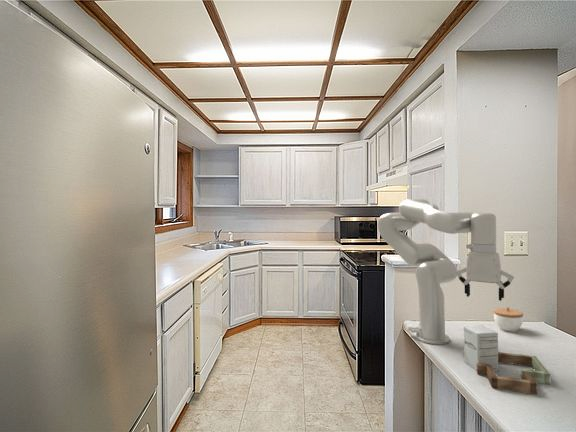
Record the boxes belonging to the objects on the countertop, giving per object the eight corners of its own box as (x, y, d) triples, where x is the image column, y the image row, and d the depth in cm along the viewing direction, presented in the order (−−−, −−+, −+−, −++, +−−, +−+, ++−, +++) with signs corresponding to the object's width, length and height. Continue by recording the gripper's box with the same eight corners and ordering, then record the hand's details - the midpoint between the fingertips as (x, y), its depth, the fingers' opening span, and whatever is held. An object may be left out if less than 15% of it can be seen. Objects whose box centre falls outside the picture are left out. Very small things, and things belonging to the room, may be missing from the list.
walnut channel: (477, 374, 104) (477, 365, 104) (471, 357, 116) (471, 348, 116) (550, 384, 97) (550, 374, 97) (535, 365, 109) (535, 355, 109)
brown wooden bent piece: (491, 387, 96) (491, 377, 96) (486, 375, 104) (486, 365, 104) (536, 394, 92) (536, 383, 92) (528, 380, 100) (527, 370, 100)
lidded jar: (529, 333, 137) (529, 310, 137) (503, 334, 137) (503, 311, 137) (512, 324, 148) (511, 303, 148) (488, 325, 148) (487, 304, 148)
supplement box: (463, 362, 113) (462, 325, 113) (484, 360, 114) (483, 324, 114) (477, 372, 106) (476, 333, 106) (499, 371, 106) (498, 332, 106)
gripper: (453, 248, 116) (454, 296, 116) (513, 251, 106) (513, 304, 106) (457, 246, 122) (458, 292, 122) (514, 248, 112) (514, 298, 112)
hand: (483, 297), depth 114 cm, fingers open, 9 cm apart
